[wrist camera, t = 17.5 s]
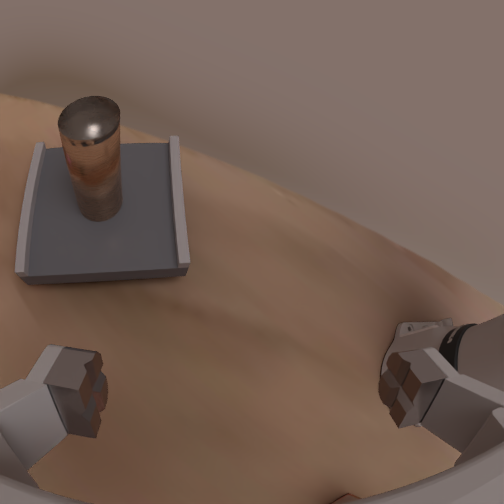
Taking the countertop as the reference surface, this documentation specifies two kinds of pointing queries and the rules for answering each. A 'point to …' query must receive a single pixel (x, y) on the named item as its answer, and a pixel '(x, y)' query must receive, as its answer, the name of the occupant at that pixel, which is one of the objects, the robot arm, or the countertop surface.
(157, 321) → the countertop surface
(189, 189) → the countertop surface
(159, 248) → the grey rimmed tray
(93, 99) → the canister
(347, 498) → the cracker box
